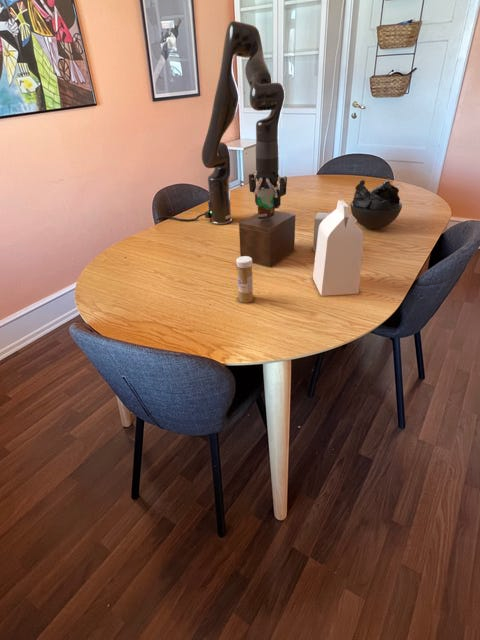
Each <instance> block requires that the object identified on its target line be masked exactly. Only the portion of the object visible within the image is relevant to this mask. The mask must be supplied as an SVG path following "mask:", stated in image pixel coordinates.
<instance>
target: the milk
mask: <svg viewBox="0 0 480 640" xmlns="http://www.w3.org/2000/svg"><path fill="white" fill-rule="evenodd" d="M330 213H331V214H330V215H328V216H327V217H326V218H325V219H324V220H323V221H322V222H321V223H320V225H319V230H318V238H317V247H316V251H315V255H314V264H313V273H312V279H313V282H314V283H315V286H316V288H317V290H318V292H319V295H320V296H321V297H325V296H340V295H341V296H342V295H343V296H344V295H353V294H354V295H355V294H357V295H358V294H360V285H361V273H362V264H363V263H362V262H363V253H364V241H365V235H364V231H363V230H362V229H361V228H360V227H359V226H358V225H357V224H356V223H358V222H357V220H356V219H355V217H354V216H353V215H352V213H350V207H349V205H348V204H347V203H346V202H345V200H343V199H341V200H337V204H336V208H335V209H334V210H333V211H332V212H330Z"/></svg>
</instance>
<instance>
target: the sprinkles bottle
mask: <svg viewBox="0 0 480 640" xmlns="http://www.w3.org/2000/svg"><path fill="white" fill-rule="evenodd" d="M236 267H237V268H236V269H237V290H238V301H239V302H240V303H250V302H252V301H253V300H254V292H253V290H254V288H253V287H254V286H253V285H254V284H253V281H254V279H253V263H252V258H251V257H248V256H242V257H241V256H239V257H237V258H236Z"/></svg>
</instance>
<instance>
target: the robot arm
mask: <svg viewBox="0 0 480 640" xmlns="http://www.w3.org/2000/svg"><path fill="white" fill-rule="evenodd" d="M234 57H238V58H239V57H240V58H245V59H247V62H246V64H245V69H244V73H245V78H246V80H247V82H248V86H249V105H250V107H251V109H253V110H254V111H257V112H263V111H270V113H269V115H268V116H267V117H265V118H262V119H259V120H257V121H256V123H255V171H256V173H255V172H251V173H249V174H248V185H249V186H248V187H249V192H250V193H253V194H254V200H255V201H254V203H255V205H256V206H258V201H257V190H259V189H260V187H261V186H262V188H265V187H266V188H269V189H270V188H273V190H274V191H275V194H274V196H275V198H274V208H275V209H279V208H280V206H281V202H282V201H281V200H282V199H281V198H282V197H283V196H285V195H286V194H287V184H288V176H286V175H285V176H280V174H279V170H280V145H279V125H280V120H281V114H282V110H283V107H284V103H285V97H286V92H285V88H284V86H283V85H282V83H280V82H273V79H272V75H271V72H270V71H269V68H268V66H267V64H266V61H265V55H264V48H263V43H262V37H261V34H260V31H259V29H258V28H257V27H256V25H253V24H249V23H245V22H241V21H237V20H231V21H230V22H229V23H228V25H227V27H226V31H225V36H224V41H223V50H222V57H221V63H220V69H219V70H220V71H219V76H218V80H217V85H216V90H215V94H214V98H213V104H212V109H211V115H210V120H209V123H208V127H207V132H206V135H205V138H204V142H203V145H202V149H201V161H202V164H203V166H204V167H205V168H207V169H213V171H212V172H211V174H209V176H208V177H207V185H208V186H207V187H208V198H209V199H208V201H207V206H208V210H206V211H204V213H200V214H199V215H197V216H196V217H194V218H189V219H188V218H178V217H176V216H175V217H174V216H169V215H160V216H158V217H157V219H156V220H157V221H159V220H160V219H163V218H164V219H165V218H166V219H171V220H175V221H180V222H194V221H197V220H198V219H200V217H204V218H205V219H209V222H211V224H214V225H227V224H229V223H231V222H232V208H231V207H232V206H231V189H230V177H231V153H230V149H229V146H228V145H227V144H226V143H225V142H221V141H222V139H223V136H224V135H225V133H226V132H227V131H228V129H229V128H230V127H231V125H232V124H233V122H234V120H235V118H236V115H237V111H238V107H239V103H240V91H239V88H238V85H237V82H236V79H235V75H234V67H233V65H234ZM274 186H276V188H274ZM276 190H277V191H276Z"/></svg>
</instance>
